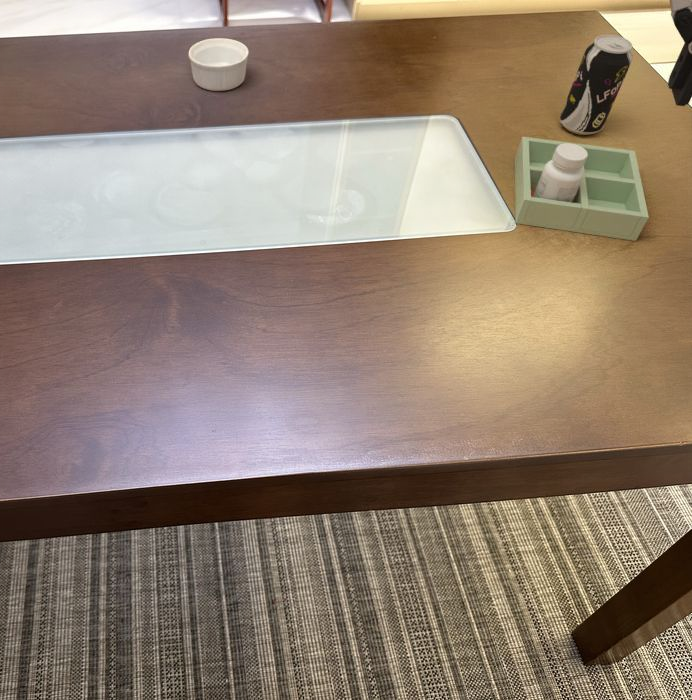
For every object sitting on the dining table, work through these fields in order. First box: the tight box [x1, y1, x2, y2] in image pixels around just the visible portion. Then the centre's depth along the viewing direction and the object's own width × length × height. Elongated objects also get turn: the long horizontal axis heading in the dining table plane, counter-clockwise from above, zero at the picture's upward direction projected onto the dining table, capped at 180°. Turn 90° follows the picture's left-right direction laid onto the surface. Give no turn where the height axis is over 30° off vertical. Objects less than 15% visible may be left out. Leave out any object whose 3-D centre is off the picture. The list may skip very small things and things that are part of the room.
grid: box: [514, 136, 650, 242], centre depth 88 cm, size 14×14×4 cm
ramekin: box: [188, 37, 250, 92], centre depth 108 cm, size 9×9×4 cm
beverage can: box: [559, 34, 633, 136], centre depth 96 cm, size 6×6×12 cm
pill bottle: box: [533, 142, 588, 203], centre depth 84 cm, size 4×4×8 cm
